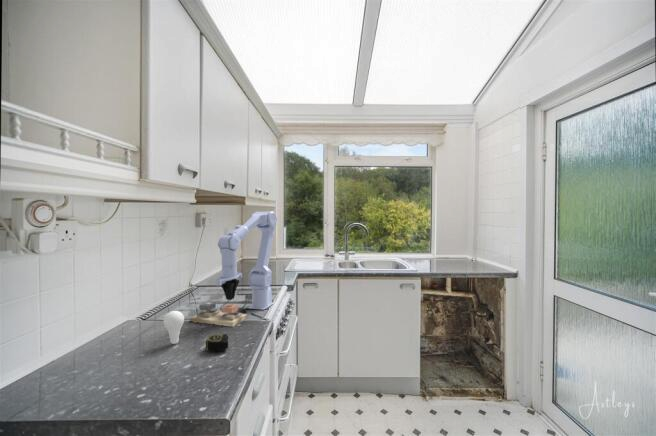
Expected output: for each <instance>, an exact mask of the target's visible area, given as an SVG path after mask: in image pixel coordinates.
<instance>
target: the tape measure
mask: <svg viewBox="0 0 656 436" xmlns="http://www.w3.org/2000/svg"><path fill="white" fill-rule="evenodd" d="M228 341H229V335H228V334H226V333H222V334H212V335H210V336H208V338H207V339H206V340H205V348H206V350H207V351H208V352H212V353H217V352H220V351H224V350H227V349H229V342H228Z"/></svg>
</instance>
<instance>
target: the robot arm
mask: <svg viewBox="0 0 656 436" xmlns="http://www.w3.org/2000/svg"><path fill="white" fill-rule="evenodd" d="M277 221H278V218H277V215H276V213H275V212H274V211H255V212H254V213H252V214H251V217H250V218H249V219H248V220H247V221H246V222H245V223H244V224H243V225H241V224H239V225H236V226H235V227H234V229H232V230H231V231H229V232H228V233H227V234H225V235H222V236H221V237H220V238H219V240H218V242H217V247H218V248H219V250H220V251H219V252H220V255H221V275H220V276H219V278H218V279H215V286H221V289H222V291H223V292H224V296H225V299H226V300H228V301H231V300H234V299H235V295H236V290H237V288H238V286H239V285H240V284H239V283H240V279H241V278H243V272H238V263H237V262H238V261H237V260H238V259H237V258H238V256H237V255H238V254H237V253H238V252H237V250H238V249H239V247H240V245H241V242H242V241H243V240H245V239H246V238H247V237H248V236H249V231H251V230H252V229H254V228H255V227H257V228H258V229H259V231H261V240H260V245H259V249H258V254H257V259H256V264H255V266H253V267H252V268H251V269H250V272H249V275H248V277H247V283H248V285H249V286H250V289H251V297H252V299H251V300H252V301H251V302H252V303H251V305H250V306H248V309H252V310H261V311H262V310H266V309H268V308H269V307H271V306H272V305H274V302H272V301H273V296H272V295H273V293H272V292H273V290H272V288H271V285H272V282H273V277H272V274H273V271H272V270H271V269H270V268H269V262H270V257H271V251H272V245H273V242H274V241H273V239H274V234H275V230H276V227H277ZM239 278H240V279H239Z"/></svg>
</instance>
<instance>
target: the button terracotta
mask: <svg viewBox="0 0 656 436" xmlns="http://www.w3.org/2000/svg"><path fill="white" fill-rule="evenodd" d="M221 308H222V311H221V312H225V313H233V312H236V311H237V312H238V311H239V304H235V303H234V304H233V303H227V304H226V305H223V306H222V307H221Z"/></svg>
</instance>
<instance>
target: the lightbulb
mask: <svg viewBox="0 0 656 436" xmlns="http://www.w3.org/2000/svg"><path fill="white" fill-rule="evenodd" d="M184 322H185V316H184V314H183V313H182V312H181V311H179V310H171V311H170V312H168V313H167V314H165V317H164V318H163V326H164V328H166V330H167V332H168V337H169V340H170V343H171V344H173V345H176V344H177V343H178V342H180V341H179V340H180V334H181V329H182V326H183V325H184Z"/></svg>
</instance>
